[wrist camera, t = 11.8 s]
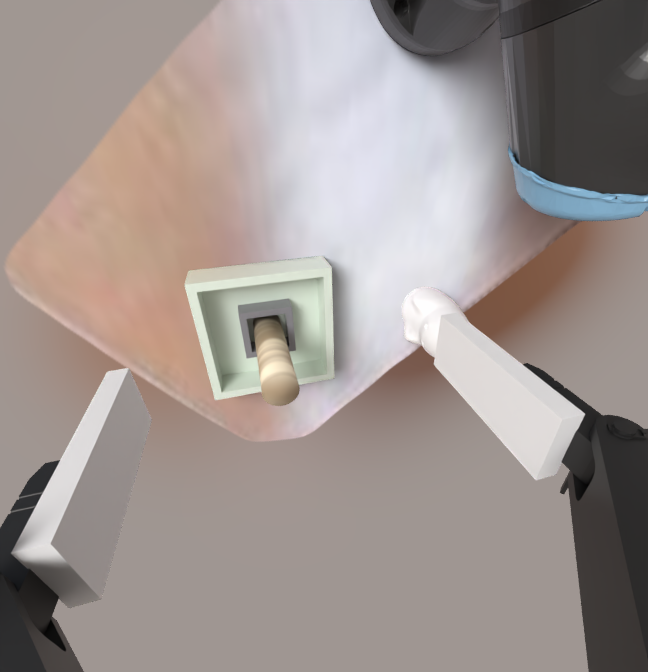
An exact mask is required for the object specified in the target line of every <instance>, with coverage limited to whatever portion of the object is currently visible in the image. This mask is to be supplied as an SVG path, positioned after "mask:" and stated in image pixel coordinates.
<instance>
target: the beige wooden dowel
mask: <svg viewBox="0 0 648 672" xmlns="http://www.w3.org/2000/svg"><path fill="white" fill-rule="evenodd" d="M253 330H254V337H255V345H256V352H257V360H258V367H259V375H260V383H261V390H262V396H263V399H264V400H265V401H266V402H267V403H269V404H271V405H274V406H283V405H286V404H289V403H291V402H292V401H293V400H295V399H296V397H297V396H298V394H299V384H298V381H297V377H296V374H295V370H294V367H293V363H292V360H291V356H290V353H289V349H288V346H287V342H286V339H285V335H284V332H283V328H282V325H281V321H280V318H279V317H278V316H277V315H271V316H264V317H257V318H254V321H253Z"/></svg>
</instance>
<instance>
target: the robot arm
mask: <svg viewBox="0 0 648 672" xmlns="http://www.w3.org/2000/svg"><path fill="white" fill-rule="evenodd" d="M371 3H372V6H373V8H374V11H375V13H376V15H377V17H378V19H379V20H380V22H381V24H382V25H383V27H384V28H385V30H386V31H387V32H388V34H389V35H390V36H391V37H392V38H393V39H394V40H395V41H396V42H397V43H398V44H400V45H401V46H402V47H404V48H406V49H407V50H409V51H411V52H414V53H417V54H420V55H428V56H434V55H441V54H445V53H448V52H451V51H454V50H456V49H459V48H461V47H463V46H465V45H467V44H469V43H471V42H472V41H474V40H475V39H477V38H478V37H479V36H481V35H482V34H483V33H484V32H485V31H486V30H488V29H489V28H490V26H491V25H492V24H493V23H494V22H495V21H496V20H497V18H498V17H499V21H500V31H501V47H502V57H503V68H504V79H505V90H506V103H507V116H508V128H509V141H510V142H509V148H508V154H509V158H510V160H511V163H512V164H513V169H514V176H515V183H516V188H517V191H518V194H519V196H520V197H521V199H522V200H523V201H525V202H526V203H527V204H529V205H530V206H531V207H532V208H533V209H535V210H536V211H539V212H541V213H543V214H546V215H549V216H553V217H557V218H562V219H568V220H578V221H611V220H620V219H628V218H633V217H638V216H640V215H641V214H643V212H644V211H648V0H371ZM434 365H435V366H436V368H437V369H438V370H439V371H440V372H441V373H442V374H443V376H445V378H446V379H447V380H448V381H449V382H450V384H451V385H452V386H453V387H454V388H455V389H456V390H457V391H458V392H459V394H460V395H461V396H462V397H463V398H464V399H465V400H466V402H467V403H468V404H469V405H470V406H471V407H472V408H473V409H474V411H475V412H476V413H477V414H478V415H479V416H480V418H481V419H482V420H483V421H484V422H485V423H486V424H487V425H488V427H489V428H490V429H491V430H492V431H493V432H494V433H495V434H496V436H497V437H498V438H499V439H500V440H501V441H502V442H503V444H504V445H505V446H506V447H507V448H508V449H509V450H510V451H511V453H512V454H513V455H514V456H515V457H516V458H517V459H518V461H519V462H520V463H521V464H522V465H523V466H524V467H525V468H526V470H527V471H528V472H529V473H530V474H531V475H532V476H533V478H534V479H535V480H539V479H542V478H546V477H549V476H553V475H556V474H557V471H558V469H559V467H560V465H561V463H563V464H564V465H565V466H566V467H567V468H569V470H570V471H569V473H568V476H567V477H566V479H565V481H564V483H563V485H562V487H561V491H560V493H562V494H564V493H565V492H566V490H567V488H569V497H570V506H571V515H572V524H573V533H574V542H575V551H576V560H577V569H578V578H579V587H580V596H581V606H582V615H583V623H584V632H585V642H586V650H587V660H588V669H589V672H648V429H643V428H642V427H640V426H639V425H638V424H636V423H634V422H632V421H630V420H628V419H625V418H622V417H619V416H613V415H604V416H603V415H601V414H600V413H599V412H597V411H596V410H595V409H593V408H592V407H591V406H589V405H588V404H587V403H585V402H584V401H583V400H581V399H580V398H579V397H577V396H576V395H575V394H573V393H572V392H571V391H569V390H568V389H567V388H564V387H563V385H561V384H560V383H559V382H557V381H554V379H553V378H552V377H551V376H549V375H548V374H547V373H546V372H544V371H543V370H541V369H539V368H536V367H534V366H532V365H530V364H528V363H526V364H521V363H520V362H519V361H517V360H516V359H515V358H514V357H512V356H511V355H510V354H508V353H507V352H506V351H505V350H503V349H502V348H501V347H499V346H498V345H497V344H496V343H494V342H493V341H492V340H491V339H489V338H488V337H487V336H486V335H484V334H483V333H482V332H480V331H479V330H478V329H477V328H475V327H474V326H473V325H471V324H470V323H469V322H468V321H466V320H465V319H464V318H463V317H461V316H460V315H459V314H458V313H451V314H445V315H441V319H440V326H439V332H438V339H437V346H436V353H435V360H434ZM151 421H152V419H151V416H150V414H149V412H148V410H147V408H146V405H145V403H144V401H143V399H142V397H141V394H140V392H139V390H138V387H137V385H136V383H135V381H134V378H133V376H132V374H131V372H130V369H129V368H126V369H120V370H115V371H108V372H107V373H106V375H105V377H104V379H103V381H102V383H101V385H100V386H99V388H98V390H97V392H96V394H95V396H94V398H93V400H92V401H91V403H90V405H89V407H88V409H87V411H86V413H85V415H84V417H83V418H82V420H81V422H80V424H79V426H78V428H77V430H76V432H75V434H74V435H73V437H72V439H71V441H70V443H69V445H68V447H67V449H66V451H65V453H64V454H63V456H62V458H61V460H59V461H54V462H49V463H45V464H44V465H43V466H42V467H41V468H40V469H39V470H38V471H37V472H36V473H35V474H34V475H33V476H32V477H31V478H30V479H29V481H28V482H27V484H26V485H25V487H24V489H23V491H22V492H21V494H20V496H19V500H17V501H16V502H15V504H14V506H13V507H12V509H11V514H8V516H7V518H6V519H5V521H4V523H3V524H2V526H1V528H0V672H84V671H83V669H82V667H81V666H80V664H79V662H78V660H77V658H76V656H75V654H74V652H73V651H72V648H71V647H70V645H69V643H68V641H67V639H66V637H65V635H64V633H63V631H62V630H61V628H60V626H59V624H58V622H57V620H55V619H54V618H53V617H52V614H53V612H54V609H55V606H56V604H57V601H58V598H59V599H60V600H61V601H62V602H63V603H64V604H65V605H66V606H67V607H68V608H72V607H75V606H79V605H83V604H86V603H89V602H93V601H97V600H100V599H101V598H102V595H103V591H104V588H105V584H106V581H107V577H108V573H109V570H110V566H111V563H112V559H113V556H114V552H115V549H116V545H117V541H118V538H119V535H120V531H121V528H122V524H123V520H124V517H125V513H126V510H127V506H128V503H129V499H130V496H131V492H132V489H133V485H134V482H135V478H136V475H137V471H138V467H139V464H140V460H141V457H142V453H143V450H144V446H145V442H146V439H147V435H148V432H149V428H150V425H151Z"/></svg>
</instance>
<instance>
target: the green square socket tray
mask: <svg viewBox="0 0 648 672" xmlns="http://www.w3.org/2000/svg"><path fill="white" fill-rule="evenodd" d="M184 285H185V289H186V292H187V296H188V300H189V304H190V307H191V311H192V315H193V319H194V322H195V326H196V330H197V334H198V337H199V341H200V345H201V349H202V352H203V356H204V360H205V364H206V367H207V371H208V375H209V379H210V382H211V386H212V390H213V394H214V397H215V400H219V399H225V398H230V397H236V396H241V395H247V394H252V393H258V392H262V390H261V383H260V375H259V367H258V360H257V352H256V345H255V337H254V330H253V321H254V318H257V317H264V316H271V315H277V316H278V317H279V318H280V321H281V325H282V328H283V332H284V335H285V339H286V342H287V346H288V349H289V353H290V356H291V360H292V363H293V367H294V370H295V374H296V377H297V381H298V384H299V385H301V384H307V383H312V382H318V381H323V380H329V379H334V340H333V299H332V267H331V266H330V265H329V263H328V262H327V261H326V260H325V258H324V257H323V256H316V257H306V258H297V259H288V260H279V261H270V262H261V263H252V264H243V265H234V266H225V267H216V268H207V269H198V270H189V271H188V274H187V278H186V281H185V284H184Z"/></svg>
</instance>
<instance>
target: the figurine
mask: <svg viewBox="0 0 648 672" xmlns="http://www.w3.org/2000/svg"><path fill="white" fill-rule="evenodd" d="M401 313H402V318H403V322H404V337H405V339H406V340H408V341H409V342H412V343H415V344H419V345H422V346H423V348H424V349H425V350H426V352H428V353H429V354H430V355H431V356H433V357H435V353H436V346H437V339H438V332H439V326H440V319H441V315H445V314H451V313H458V314H459V315H460V316H461V317H463V318H464V319H465V320H466V321H468V319H467V318H466V316H465V315H464V314H463V312H462V311H461V309H460V308H459V306H458V305H457V304H456V303H455V302H454V301H453V300H452V299H451V298H450V297H449V296H447V295H446V294H444V293H443V292H441V291H439V290H437V289H435V288H432V287H419V288H416V289H414V290H413V291H411V292H410V293H409V294H408V295H407V296H406V298H405V299H404V301H403V304H402V308H401ZM468 322H469V321H468Z"/></svg>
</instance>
